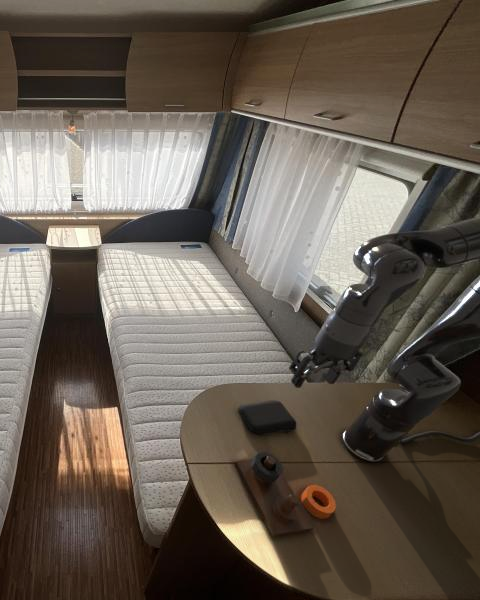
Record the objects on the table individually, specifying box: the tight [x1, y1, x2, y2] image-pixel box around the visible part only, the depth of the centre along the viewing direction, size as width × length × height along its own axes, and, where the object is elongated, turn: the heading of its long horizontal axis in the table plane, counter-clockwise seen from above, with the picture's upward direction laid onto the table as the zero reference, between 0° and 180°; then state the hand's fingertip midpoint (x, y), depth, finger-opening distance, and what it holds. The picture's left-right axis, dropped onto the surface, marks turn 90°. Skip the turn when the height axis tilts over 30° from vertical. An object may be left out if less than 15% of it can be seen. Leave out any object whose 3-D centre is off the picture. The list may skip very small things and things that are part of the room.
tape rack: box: [234, 456, 316, 538], centre depth 81 cm, size 10×17×8 cm, turn 8°
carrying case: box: [237, 399, 297, 436], centre depth 99 cm, size 11×3×15 cm
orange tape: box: [300, 484, 337, 520], centre depth 81 cm, size 6×6×3 cm
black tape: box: [252, 451, 284, 482], centre depth 84 cm, size 6×6×3 cm
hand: (311, 383), depth 79 cm, fingers open, 8 cm apart
